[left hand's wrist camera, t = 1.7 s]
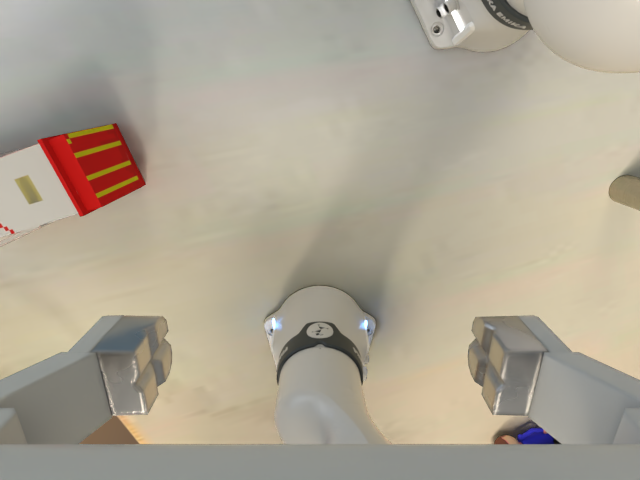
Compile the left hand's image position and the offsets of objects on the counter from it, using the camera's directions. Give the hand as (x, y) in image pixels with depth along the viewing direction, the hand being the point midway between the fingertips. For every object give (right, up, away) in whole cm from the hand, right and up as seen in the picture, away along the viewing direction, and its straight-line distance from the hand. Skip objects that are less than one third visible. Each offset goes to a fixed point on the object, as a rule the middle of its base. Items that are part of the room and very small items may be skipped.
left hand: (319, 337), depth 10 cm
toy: (-40, +11, +47) cm, 63 cm away
